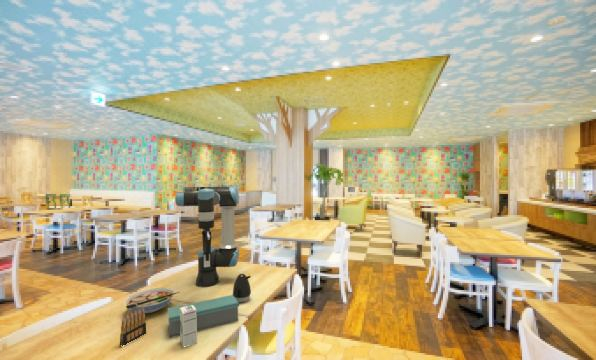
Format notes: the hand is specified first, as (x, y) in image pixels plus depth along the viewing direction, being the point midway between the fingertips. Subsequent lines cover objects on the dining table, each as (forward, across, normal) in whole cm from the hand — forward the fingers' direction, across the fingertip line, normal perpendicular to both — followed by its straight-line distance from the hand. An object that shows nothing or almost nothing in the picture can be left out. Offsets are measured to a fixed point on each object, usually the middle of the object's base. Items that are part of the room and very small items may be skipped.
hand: (206, 266), depth 135 cm
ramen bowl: (+26, -22, -25) cm, 42 cm away
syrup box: (+25, +19, -11) cm, 33 cm away
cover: (+18, +6, -3) cm, 19 cm away
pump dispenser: (+26, -9, +20) cm, 34 cm away
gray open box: (+25, +6, -3) cm, 26 cm away
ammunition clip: (+25, +5, -32) cm, 41 cm away
